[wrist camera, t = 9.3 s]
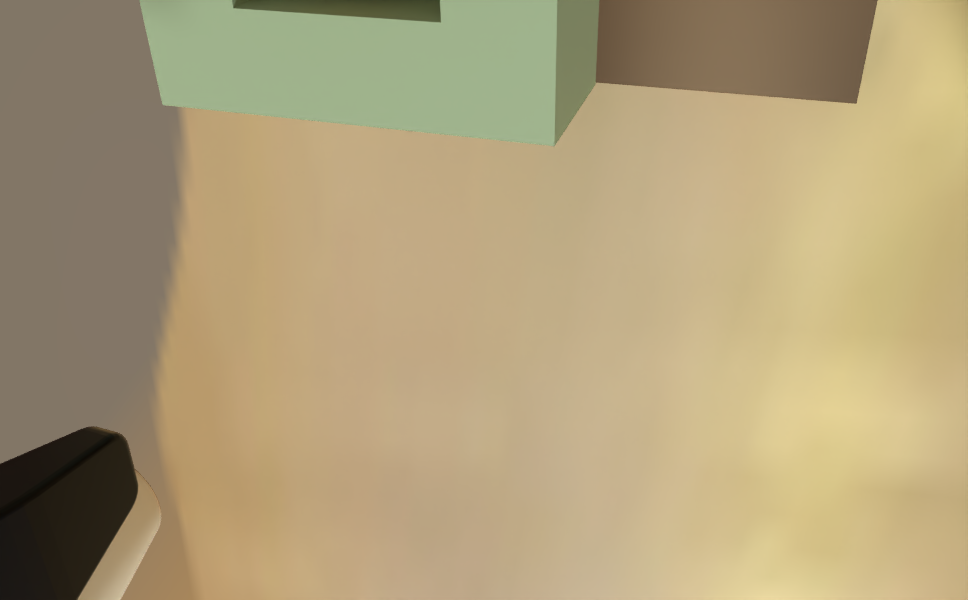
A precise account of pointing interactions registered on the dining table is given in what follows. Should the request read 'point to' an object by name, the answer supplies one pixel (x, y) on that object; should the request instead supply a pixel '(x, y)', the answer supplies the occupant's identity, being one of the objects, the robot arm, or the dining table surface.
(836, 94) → the stand
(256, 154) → the dining table surface
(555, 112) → the collar
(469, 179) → the dining table surface
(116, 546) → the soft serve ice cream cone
